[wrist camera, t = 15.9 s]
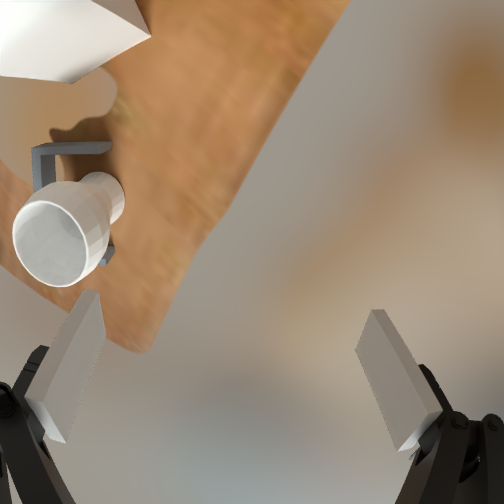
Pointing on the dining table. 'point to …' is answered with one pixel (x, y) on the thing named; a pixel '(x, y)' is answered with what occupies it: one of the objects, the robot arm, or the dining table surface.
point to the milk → (65, 36)
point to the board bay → (46, 167)
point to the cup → (67, 227)
